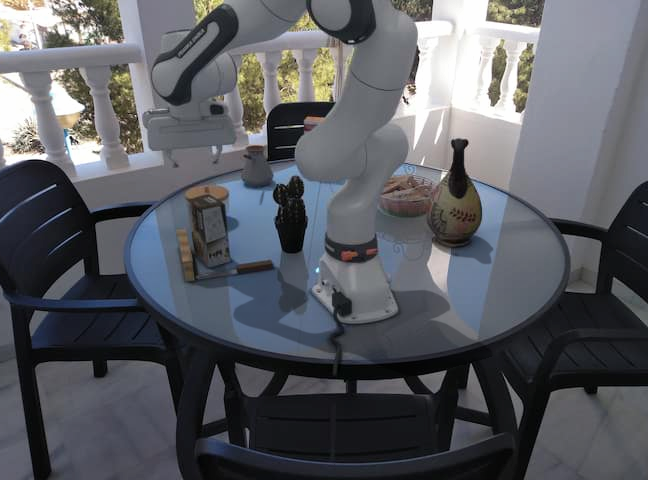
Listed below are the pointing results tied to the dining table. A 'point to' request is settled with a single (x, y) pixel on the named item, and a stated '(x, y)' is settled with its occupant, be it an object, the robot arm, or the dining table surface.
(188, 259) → the oak rail
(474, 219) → the ceramic jug
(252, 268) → the table knife
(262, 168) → the coffee pot
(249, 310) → the dining table surface
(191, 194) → the lidded bowl
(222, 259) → the coffee box
